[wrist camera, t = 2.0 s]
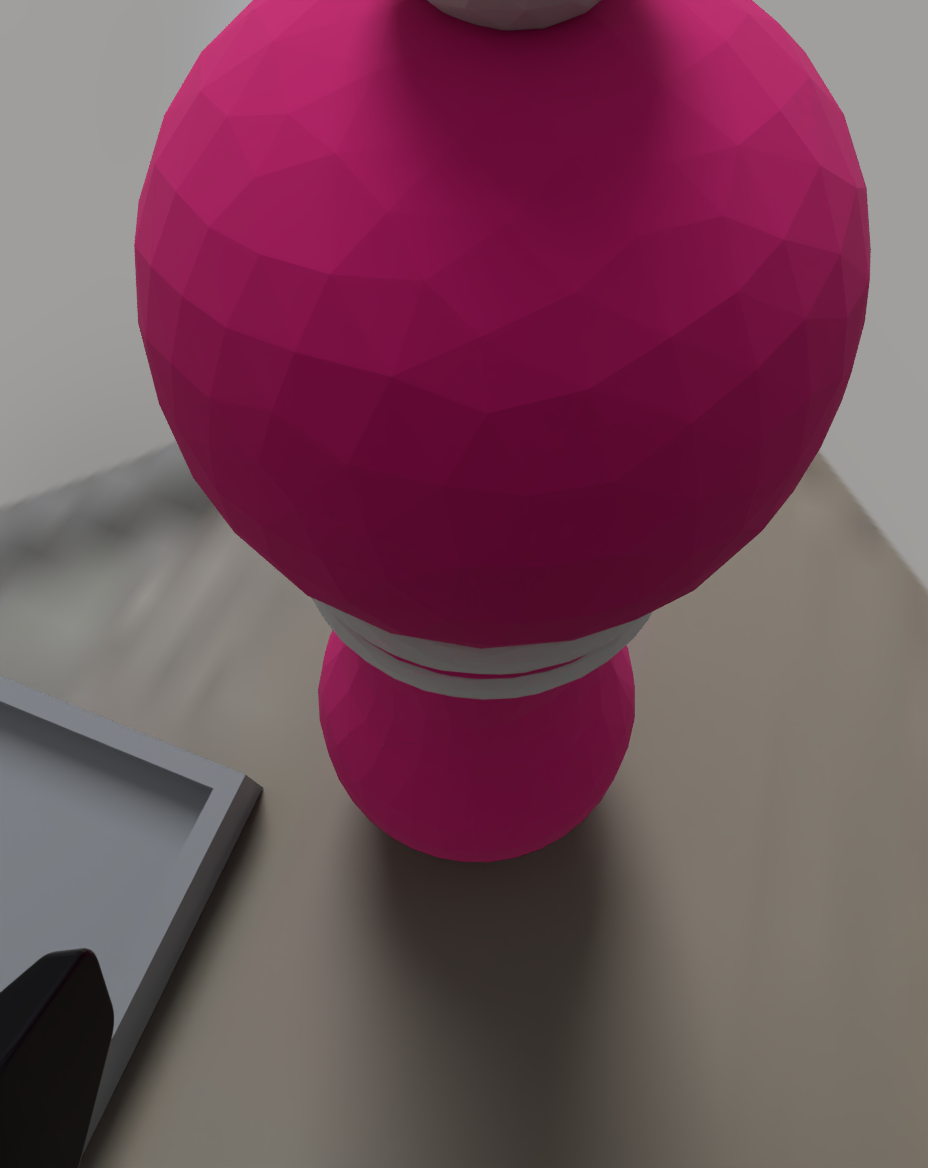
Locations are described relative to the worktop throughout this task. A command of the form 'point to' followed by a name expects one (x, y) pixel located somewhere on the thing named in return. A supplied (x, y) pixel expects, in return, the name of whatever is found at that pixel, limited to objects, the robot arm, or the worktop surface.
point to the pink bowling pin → (498, 356)
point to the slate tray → (107, 852)
